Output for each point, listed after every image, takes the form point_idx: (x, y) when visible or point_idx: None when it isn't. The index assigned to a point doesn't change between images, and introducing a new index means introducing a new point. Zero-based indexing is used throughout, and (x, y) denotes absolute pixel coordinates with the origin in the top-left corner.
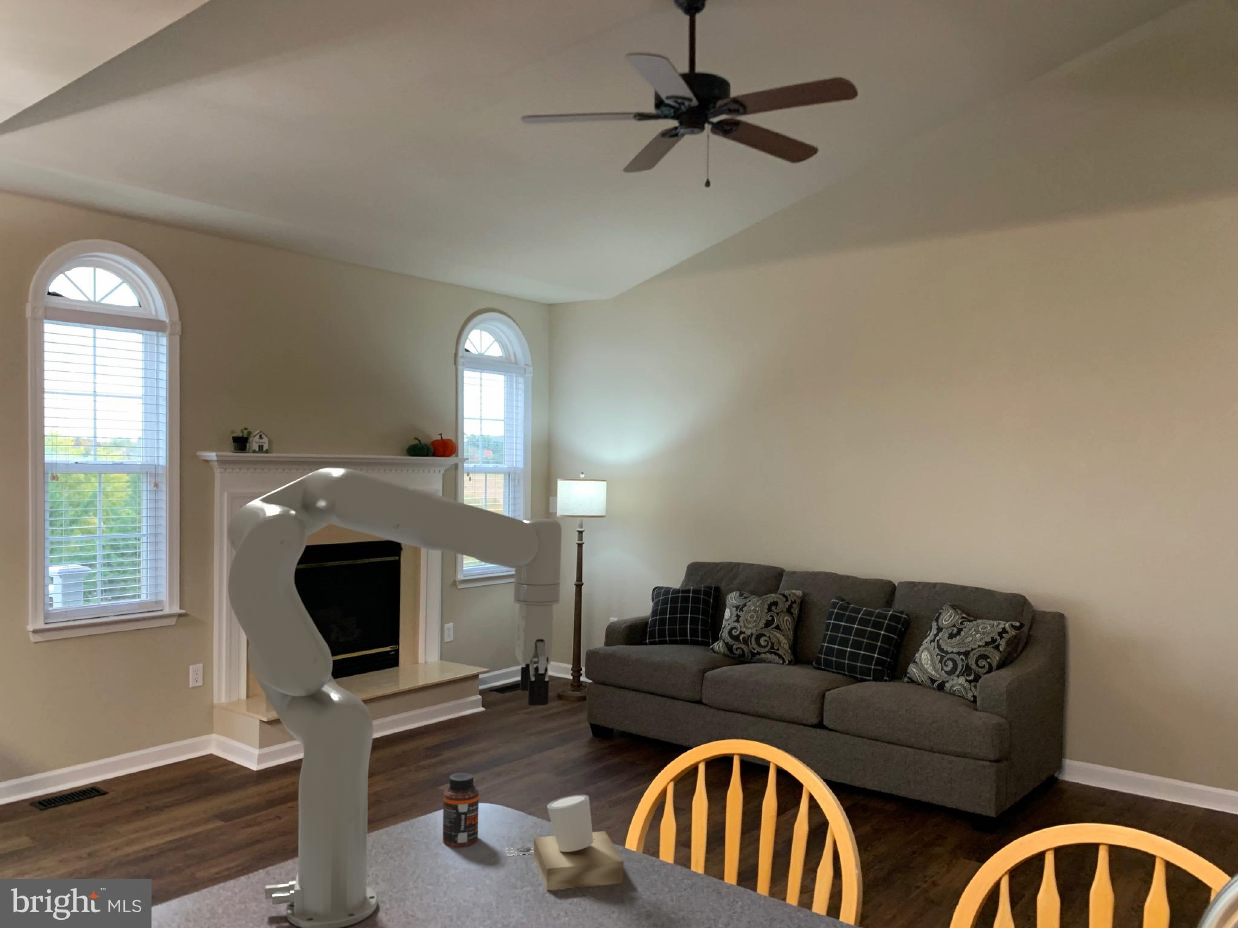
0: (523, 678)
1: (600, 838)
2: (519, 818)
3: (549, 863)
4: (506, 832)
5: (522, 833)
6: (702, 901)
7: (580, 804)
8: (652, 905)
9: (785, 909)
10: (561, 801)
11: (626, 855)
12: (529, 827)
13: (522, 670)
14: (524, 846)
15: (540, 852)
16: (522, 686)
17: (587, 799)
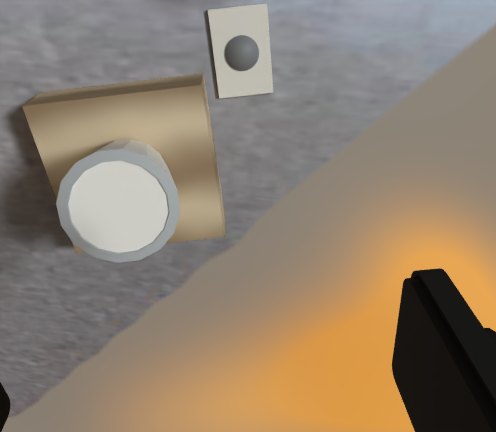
0: (444, 361)
1: (186, 225)
2: (442, 49)
3: (51, 113)
4: (362, 11)
5: (347, 53)
6: (29, 324)
7: (72, 239)
8: (5, 261)
9: (19, 402)
10: (137, 190)
11: (202, 247)
12: (379, 72)
13: (491, 430)
14: (256, 55)
15: (111, 96)
16: (416, 299)
17: (99, 258)
